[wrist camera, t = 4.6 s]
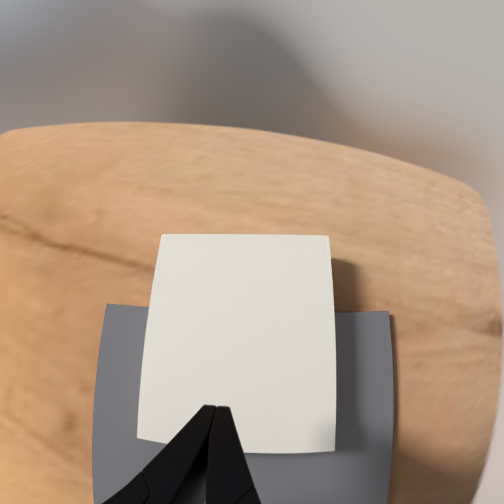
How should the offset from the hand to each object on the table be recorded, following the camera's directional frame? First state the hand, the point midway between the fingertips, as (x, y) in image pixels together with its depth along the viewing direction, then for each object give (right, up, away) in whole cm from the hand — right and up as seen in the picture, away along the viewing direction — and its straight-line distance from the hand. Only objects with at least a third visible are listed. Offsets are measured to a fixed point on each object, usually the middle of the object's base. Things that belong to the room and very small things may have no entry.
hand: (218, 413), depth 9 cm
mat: (0, -6, +6) cm, 8 cm away
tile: (0, -5, +4) cm, 7 cm away
